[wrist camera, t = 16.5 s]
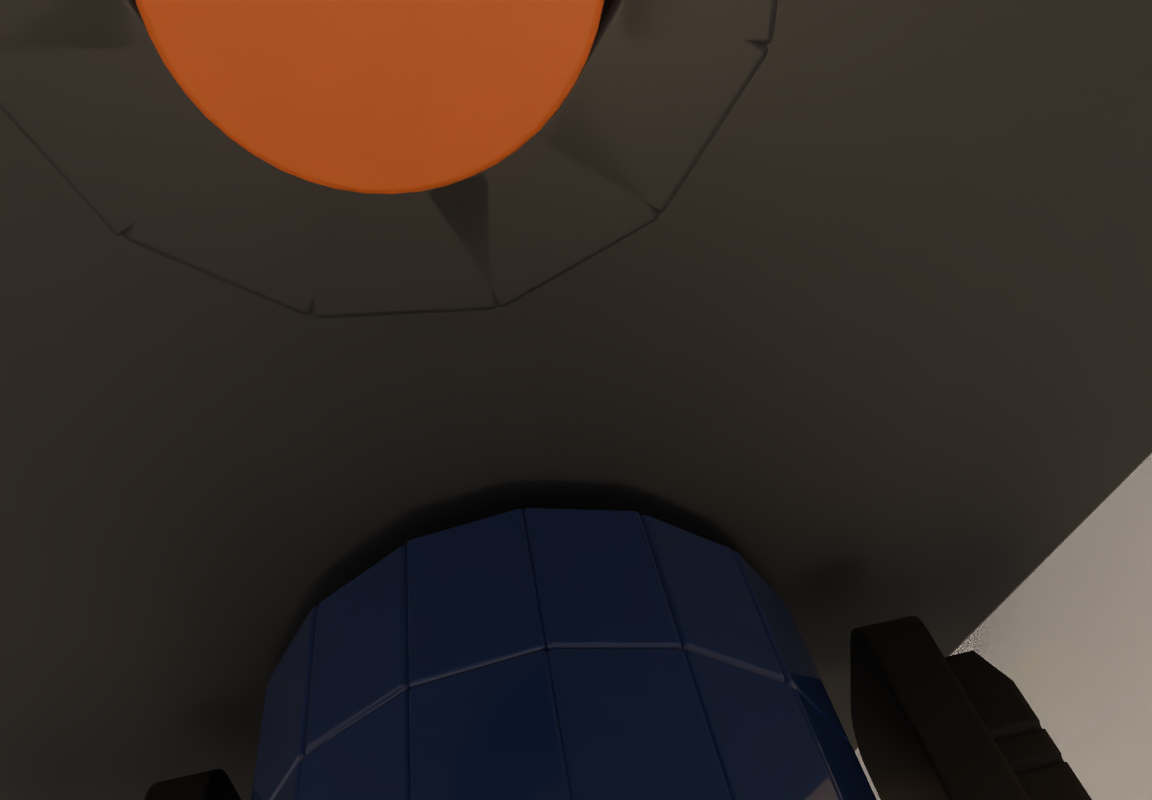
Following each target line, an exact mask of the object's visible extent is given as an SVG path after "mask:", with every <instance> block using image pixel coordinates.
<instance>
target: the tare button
mask: <svg viewBox="0 0 1152 800" xmlns="http://www.w3.org/2000/svg"><path fill="white" fill-rule="evenodd" d="M135 2H136V5H137V7H138V10H139V12H140V15H141V17H142V20H143V22H144V25H145V27H146V30H147V32H148V35H149V37H150V39H151V41H152V42H153V44H154V46H155V48H156V50H157V52H158V54H159V55H160V57H161V59H162V61H163V63H164V65H165V66H166V68H167V69H168V70H169V72H170V73H171V75H172V76H173V78H174V79H175V80H176V82H177V83H178V85H179V86H180V88H181V89H182V90H183V92H184V93H185V94H186V95H187V96H188V98H189V99H190V100H191V101H192V102H193V103H194V104H195V105H196V107H197V108H198V109H199V110H200V111H201V112H202V113H203V114H204V116H205V117H206V118H208V119H209V120H210V121H211V122H212V123H213V124H214V125H215V126H217V127H218V128H219V129H220V130H221V131H222V132H223V133H224V134H225V135H227V136H228V137H229V138H230V139H232V140H233V141H234V142H236V143H237V144H239V145H240V146H241V147H243V148H244V149H246V150H247V151H248V152H250V153H251V154H253V155H254V156H256V157H258V158H259V159H261V160H263V161H265V162H267V163H269V164H270V165H272V166H274V167H276V168H278V169H280V170H281V171H284V172H286V173H289V174H291V175H294V176H296V177H299V178H301V179H304V180H306V181H309V182H312V183H316V184H320V185H323V186H327V187H330V188H334V189H339V190H345V191H352V192H359V193H368V194H400V193H410V192H421V191H425V190H430V189H434V188H438V187H443V186H447V185H450V184H453V183H456V182H458V181H461V180H464V179H467V178H469V177H472V176H474V175H476V174H478V173H480V172H482V171H484V170H486V169H488V168H490V167H492V166H494V165H496V164H498V163H499V162H501V161H502V160H503V159H505V158H506V157H508V156H509V155H511V154H512V153H514V152H515V151H517V150H518V149H519V148H521V147H522V146H523V145H524V144H525V143H526V142H527V141H528V140H530V139H531V138H532V137H533V136H534V135H535V134H536V133H537V132H539V131H540V130H541V129H542V127H543V126H544V125H545V124H546V123H547V122H548V121H549V119H550V118H551V117H552V116H553V115H554V114H555V112H556V111H557V110H558V109H559V108H560V106H561V105H562V103H563V102H564V100H565V99H566V97H567V96H568V94H569V93H570V91H571V90H572V88H573V87H574V85H575V83H576V81H577V79H578V77H579V75H580V73H581V71H582V69H583V67H584V65H585V63H586V61H587V59H588V57H589V54H590V51H591V48H592V46H593V43H594V40H595V37H596V34H597V31H598V28H599V23H600V19H601V14H602V9H603V5H604V0H135Z"/></svg>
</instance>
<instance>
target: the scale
mask: <svg viewBox="0 0 1152 800" xmlns="http://www.w3.org/2000/svg"><path fill="white" fill-rule="evenodd" d="M1151 453H1152V0H604V5H603V9H602V14H601V19H600V23H599V28H598V31H597V34H596V37H595V40H594V43H593V46H592V48H591V51H590V54H589V57H588V59H587V61H586V63H585V65H584V67H583V69H582V71H581V73H580V75H579V77H578V79H577V81H576V83H575V85H574V87H573V88H572V90H571V91H570V93H569V94H568V96H567V97H566V99H565V100H564V102H563V103H562V105H561V106H560V108H559V109H558V110H557V111H556V112H555V114H554V115H553V116H552V117H551V118H550V119H549V121H548V122H547V123H546V124H545V125H544V126H543V127H542V129H541V130H540V131H539V132H537V133H536V134H535V135H534V136H533V137H532V138H531V139H530V140H528V141H527V142H526V143H525V144H524V145H523V146H522V147H521V148H519V149H518V150H517V151H515V152H514V153H512V154H511V155H509V156H508V157H506V158H505V159H503V160H502V161H501V162H499V163H498V164H496V165H494V166H492V167H490V168H488V169H486V170H484V171H482V172H480V173H478V174H476V175H474V176H472V177H469V178H467V179H464V180H461V181H458V182H456V183H453V184H450V185H447V186H443V187H438V188H434V189H430V190H425V191H421V192H410V193H400V194H368V193H359V192H352V191H345V190H339V189H334V188H330V187H327V186H323V185H320V184H316V183H312V182H309V181H306V180H304V179H301V178H299V177H296V176H294V175H291V174H289V173H286V172H284V171H281V170H280V169H278V168H276V167H274V166H272V165H270V164H269V163H267V162H265V161H263V160H261V159H259V158H258V157H256V156H254V155H253V154H251V153H250V152H248V151H247V150H246V149H244V148H243V147H241V146H240V145H239V144H237V143H236V142H234V141H233V140H232V139H230V138H229V137H228V136H227V135H225V134H224V133H223V132H222V131H221V130H220V129H219V128H218V127H217V126H215V125H214V124H213V123H212V122H211V121H210V120H209V119H208V118H206V117H205V116H204V114H203V113H202V112H201V111H200V110H199V109H198V108H197V107H196V105H195V104H194V103H193V102H192V101H191V100H190V99H189V98H188V96H187V95H186V94H185V93H184V92H183V90H182V89H181V88H180V86H179V85H178V83H177V82H176V80H175V79H174V78H173V76H172V75H171V73H170V72H169V70H168V69H167V68H166V66H165V65H164V63H163V61H162V59H161V57H160V55H159V54H158V52H157V50H156V48H155V46H154V44H153V42H152V41H151V39H150V37H149V35H148V32H147V30H146V27H145V25H144V22H143V20H142V17H141V15H140V12H139V10H138V7H137V5H136V2H135V0H0V800H144V799H145V796H146V794H147V791H148V790H149V788H150V787H151V786H152V785H153V784H154V783H157V782H161V781H166V780H170V779H174V778H179V777H183V776H188V775H192V774H197V773H201V772H206V771H210V770H215V769H222V770H224V771H225V772H226V774H227V775H228V777H229V778H230V780H231V782H232V784H233V785H234V787H235V789H236V791H237V793H238V795H239V796H240V798H241V800H251V796H252V789H253V781H254V774H255V766H256V759H257V752H258V744H259V737H260V729H261V722H262V714H263V707H264V700H265V692H266V688H267V686H268V680H269V679H270V677H271V675H272V674H273V672H274V670H275V669H276V667H277V665H278V664H279V662H280V660H281V659H282V657H283V655H284V654H285V652H286V650H287V649H288V647H289V646H290V644H291V642H292V641H293V639H294V637H295V636H296V634H297V632H298V631H299V629H300V627H301V626H302V624H303V622H304V621H305V619H306V617H307V616H308V614H309V612H310V611H311V609H312V608H313V607H315V606H318V605H319V603H320V602H321V601H322V600H323V599H325V598H326V597H328V596H329V595H330V594H332V593H333V592H335V591H336V590H338V589H339V588H340V587H342V586H343V585H345V584H346V583H348V582H349V581H350V580H352V579H353V578H355V577H356V576H358V575H359V574H361V573H362V572H363V571H365V570H366V569H368V568H369V567H371V566H372V565H373V564H375V563H376V562H378V561H379V560H381V559H382V558H383V557H385V556H386V555H388V554H389V553H391V552H392V551H393V550H395V549H396V548H398V547H399V546H402V545H406V543H407V541H408V540H410V539H413V538H416V537H420V536H423V535H427V534H430V533H434V532H437V531H441V530H444V529H448V528H451V527H455V526H458V525H461V524H465V523H468V522H472V521H475V520H479V519H482V518H486V517H489V516H493V515H496V514H500V513H503V512H507V511H510V510H514V509H517V508H521V509H522V510H524V508H528V507H532V508H568V509H604V510H635V511H638V512H639V513H640V515H642V514H647V515H649V516H652V517H654V518H657V519H659V520H662V521H664V522H667V523H669V524H672V525H674V526H677V527H679V528H682V529H684V530H687V531H689V532H692V533H695V534H697V535H700V536H702V537H705V538H707V539H710V540H712V541H715V542H717V543H720V544H722V545H725V546H727V547H728V548H730V549H731V550H735V551H737V552H738V553H739V554H740V555H741V556H742V557H743V558H744V559H745V560H746V562H747V563H748V564H749V565H750V566H751V567H752V568H753V569H754V570H755V571H756V573H757V574H758V575H759V576H760V577H761V578H762V579H763V580H764V581H765V583H766V584H767V585H768V586H769V587H770V588H771V589H772V590H773V591H774V592H775V594H776V595H777V596H778V597H779V598H780V599H781V600H782V601H783V602H784V604H785V605H786V606H787V607H788V609H789V611H790V613H791V615H792V617H793V619H794V622H795V624H796V626H797V628H798V630H799V633H800V635H801V637H802V639H803V641H804V643H805V646H806V648H807V650H808V652H809V654H810V657H811V659H812V661H813V663H814V665H815V667H816V670H817V672H818V674H819V676H820V678H821V681H822V683H823V685H824V687H825V689H826V691H827V694H828V696H829V698H830V700H831V702H832V705H833V707H834V709H835V711H836V713H837V715H838V718H839V720H840V722H841V724H842V726H843V729H844V731H845V733H846V735H847V737H848V739H849V742H850V745H851V746H852V748H853V750H854V751H855V750H856V749H857V748H858V745H857V742H856V738H855V734H854V730H853V725H852V720H851V709H850V637H851V632H852V630H853V629H854V628H859V627H863V626H868V625H872V624H876V623H881V622H885V621H890V620H894V619H899V618H903V617H908V616H916V617H918V618H919V619H920V620H921V621H922V622H923V623H924V625H925V626H926V628H927V629H928V631H929V633H930V634H931V636H932V637H933V639H934V641H935V642H936V644H937V646H938V647H939V649H940V651H941V652H942V654H943V656H944V657H948V656H950V655H951V654H952V653H953V652H954V651H955V650H956V649H957V648H958V647H959V646H960V645H961V644H962V643H963V642H964V641H965V640H966V639H967V638H968V637H969V636H970V635H971V634H972V633H973V632H974V631H975V630H976V629H977V628H978V627H979V626H980V625H981V624H982V623H983V622H984V621H985V620H986V619H987V618H988V617H989V616H990V615H991V614H992V613H993V612H994V611H995V610H996V609H997V608H998V606H999V605H1000V604H1001V603H1002V602H1003V601H1004V600H1005V599H1006V598H1007V597H1008V596H1009V595H1010V594H1011V593H1012V592H1013V591H1014V590H1015V589H1016V588H1017V587H1018V586H1019V585H1020V584H1021V583H1022V582H1023V581H1024V580H1025V579H1026V578H1027V577H1028V576H1029V575H1030V574H1031V573H1032V572H1033V571H1034V570H1035V569H1036V568H1037V567H1038V566H1039V565H1040V564H1041V563H1042V562H1043V561H1044V560H1045V559H1046V558H1047V557H1048V556H1049V555H1050V554H1051V553H1052V552H1053V551H1054V550H1055V549H1056V548H1057V547H1058V546H1059V545H1060V544H1061V543H1062V542H1063V541H1064V540H1065V539H1066V538H1067V537H1068V536H1069V535H1070V534H1071V533H1072V532H1073V531H1074V530H1075V529H1076V528H1077V527H1078V526H1079V525H1080V524H1081V523H1082V522H1083V521H1084V520H1085V519H1086V518H1087V517H1088V516H1089V515H1090V514H1091V513H1092V512H1093V511H1094V510H1095V509H1096V508H1097V507H1098V506H1099V505H1100V504H1101V503H1102V502H1103V501H1104V500H1105V499H1106V498H1107V497H1108V496H1109V495H1110V494H1111V493H1112V492H1113V491H1114V490H1115V489H1116V488H1117V487H1118V486H1119V485H1120V484H1121V483H1122V482H1123V481H1124V480H1125V479H1126V478H1127V477H1128V476H1129V475H1130V474H1131V473H1132V472H1133V471H1134V470H1135V469H1136V468H1137V467H1138V466H1139V465H1140V464H1141V463H1142V462H1143V461H1144V460H1145V459H1146V458H1147V457H1148V456H1149V455H1150V454H1151Z"/></svg>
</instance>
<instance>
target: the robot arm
mask: <svg viewBox="0 0 1152 800" xmlns="http://www.w3.org/2000/svg"><path fill="white" fill-rule="evenodd" d="M850 709H851V720H852V725H853V730H854V734H855V738H856V742H857V745H858V748H859V751H860V754H861V757H862V759H863V762H864V764H865V766H866V769H867V771H868V773H869V775H870V777H871V779H872V782H873V784H874V786H875V788H876V790H877V792H878V795H879V797H880V799H881V800H1092V799H1091V798H1090V796H1089V795H1088V793H1087V792H1086V790H1085V789H1084V787H1083V786H1082V784H1081V783H1080V781H1079V780H1078V778H1077V777H1076V775H1075V774H1074V772H1073V771H1072V769H1071V768H1070V766H1069V765H1068V763H1067V762H1064V761H1063V759H1062V757H1061V753H1060V751H1059V749H1058V748H1057V746H1056V745H1055V743H1054V742H1053V740H1052V739H1051V737H1050V736H1049V734H1048V733H1047V731H1046V730H1045V729H1042V728H1041V726H1040V722H1039V719H1038V718H1037V716H1036V715H1035V713H1034V712H1033V710H1032V709H1031V707H1030V706H1029V704H1028V703H1027V701H1026V700H1025V698H1024V697H1023V695H1022V694H1021V692H1020V691H1019V689H1018V688H1017V686H1016V685H1015V683H1014V682H1013V681H1012V680H1011V679H1010V678H1008V677H1007V676H1006V675H1004V674H1003V673H1002V672H1001V671H999V670H998V669H997V668H995V667H994V666H993V665H991V664H990V663H989V662H987V661H986V660H985V659H983V658H982V657H981V656H979V655H978V654H977V653H976V652H974V651H970V652H965V653H961V654H957V655H952V656H948V657H944V656H943V654H942V652H941V651H940V649H939V647H938V646H937V644H936V642H935V641H934V639H933V637H932V636H931V634H930V633H929V631H928V629H927V628H926V626H925V625H924V623H923V622H922V621H921V620H920V619H919V618H918V617H916V616H908V617H903V618H899V619H894V620H890V621H885V622H881V623H876V624H872V625H868V626H863V627H859V628H854V629H853V630H852V632H851V637H850ZM144 800H241V798H240V796H239V795H238V793H237V791H236V789H235V787H234V785H233V784H232V782H231V780H230V778H229V777H228V775H227V774H226V772H225V771H224V770H222V769H215V770H210V771H206V772H201V773H197V774H192V775H188V776H183V777H179V778H174V779H170V780H166V781H161V782H157V783H154V784H153V785H152V786H151V787H150V788H149V790H148V791H147V794H146V796H145V799H144Z"/></svg>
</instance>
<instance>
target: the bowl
mask: <svg viewBox="0 0 1152 800" xmlns="http://www.w3.org/2000/svg"><path fill="white" fill-rule="evenodd" d="M251 800H876V798H875V795H874V793H873V791H872V789H871V787H870V784H869V782H868V780H867V778H866V776H865V774H864V771H863V769H862V767H861V765H860V763H859V761H858V758H857V756H856V754H855V752H854V750H853V748H852V746H851V745H850V742H849V739H848V737H847V735H846V733H845V731H844V729H843V726H842V724H841V722H840V720H839V718H838V715H837V713H836V711H835V709H834V707H833V705H832V702H831V700H830V698H829V696H828V694H827V691H826V689H825V687H824V685H823V683H822V681H821V678H820V676H819V674H818V672H817V670H816V667H815V665H814V663H813V661H812V659H811V657H810V654H809V652H808V650H807V648H806V646H805V643H804V641H803V639H802V637H801V635H800V633H799V630H798V628H797V626H796V624H795V622H794V619H793V617H792V615H791V613H790V611H789V609H788V607H787V606H786V605H785V604H784V602H783V601H782V600H781V599H780V598H779V597H778V596H777V595H776V594H775V592H774V591H773V590H772V589H771V588H770V587H769V586H768V585H767V584H766V583H765V581H764V580H763V579H762V578H761V577H760V576H759V575H758V574H757V573H756V571H755V570H754V569H753V568H752V567H751V566H750V565H749V564H748V563H747V562H746V560H745V559H744V558H743V557H742V556H741V555H740V554H739V553H738V552H737V551H735V550H731V549H730V548H728V547H727V546H725V545H722V544H720V543H717V542H715V541H712V540H710V539H707V538H705V537H702V536H700V535H697V534H695V533H692V532H689V531H687V530H684V529H682V528H679V527H677V526H674V525H672V524H669V523H667V522H664V521H662V520H659V519H657V518H654V517H652V516H649V515H647V514H642V515H640V513H639V512H638V511H635V510H604V509H568V508H532V507H528V508H524V510H522V509H521V508H517V509H514V510H510V511H507V512H503V513H500V514H496V515H493V516H489V517H486V518H482V519H479V520H475V521H472V522H468V523H465V524H461V525H458V526H455V527H451V528H448V529H444V530H441V531H437V532H434V533H430V534H427V535H423V536H420V537H416V538H413V539H410V540H408V541H407V543H406V545H402V546H399V547H398V548H396V549H395V550H393V551H392V552H391V553H389V554H388V555H386V556H385V557H383V558H382V559H381V560H379V561H378V562H376V563H375V564H373V565H372V566H371V567H369V568H368V569H366V570H365V571H363V572H362V573H361V574H359V575H358V576H356V577H355V578H353V579H352V580H350V581H349V582H348V583H346V584H345V585H343V586H342V587H340V588H339V589H338V590H336V591H335V592H333V593H332V594H330V595H329V596H328V597H326V598H325V599H323V600H322V601H321V602H320V603H319V605H318V606H315V607H313V608H312V609H311V611H310V612H309V614H308V616H307V617H306V619H305V621H304V622H303V624H302V626H301V627H300V629H299V631H298V632H297V634H296V636H295V637H294V639H293V641H292V642H291V644H290V646H289V647H288V649H287V650H286V652H285V654H284V655H283V657H282V659H281V660H280V662H279V664H278V665H277V667H276V669H275V670H274V672H273V674H272V675H271V677H270V679H269V680H268V686H267V688H266V692H265V700H264V707H263V714H262V722H261V729H260V737H259V744H258V752H257V759H256V766H255V774H254V781H253V789H252V796H251Z"/></svg>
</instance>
